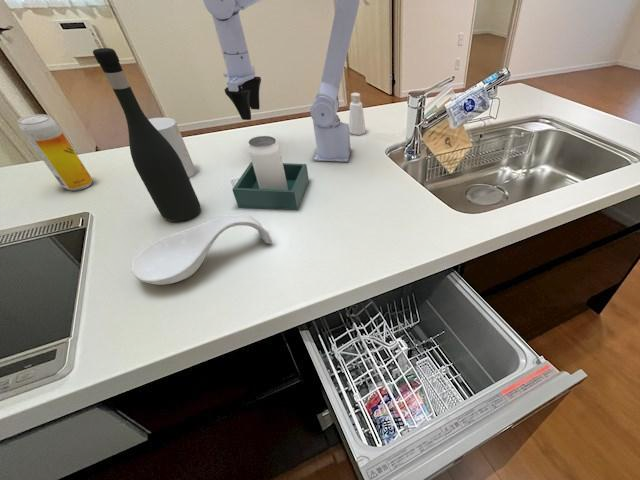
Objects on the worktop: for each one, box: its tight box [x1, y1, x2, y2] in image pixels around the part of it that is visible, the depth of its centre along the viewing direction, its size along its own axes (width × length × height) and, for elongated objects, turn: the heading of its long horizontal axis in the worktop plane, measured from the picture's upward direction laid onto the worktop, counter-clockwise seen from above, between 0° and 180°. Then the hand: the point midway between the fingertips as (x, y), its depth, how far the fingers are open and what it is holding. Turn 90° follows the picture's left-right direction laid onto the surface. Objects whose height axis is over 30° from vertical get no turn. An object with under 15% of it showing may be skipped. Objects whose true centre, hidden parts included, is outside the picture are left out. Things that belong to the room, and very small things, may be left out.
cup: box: [147, 116, 197, 179], centre depth 84 cm, size 8×8×12 cm
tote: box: [232, 161, 310, 211], centre depth 82 cm, size 14×14×4 cm
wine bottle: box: [92, 47, 201, 222], centre depth 66 cm, size 8×8×30 cm
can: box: [248, 135, 288, 190], centre depth 79 cm, size 6×6×12 cm
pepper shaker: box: [348, 92, 367, 136], centre depth 107 cm, size 5×5×11 cm
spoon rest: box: [130, 213, 273, 286], centre depth 64 cm, size 24×12×7 cm, turn 129°
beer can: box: [17, 113, 93, 192], centre depth 77 cm, size 6×6×15 cm
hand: (251, 114), depth 91 cm, fingers open, 7 cm apart
